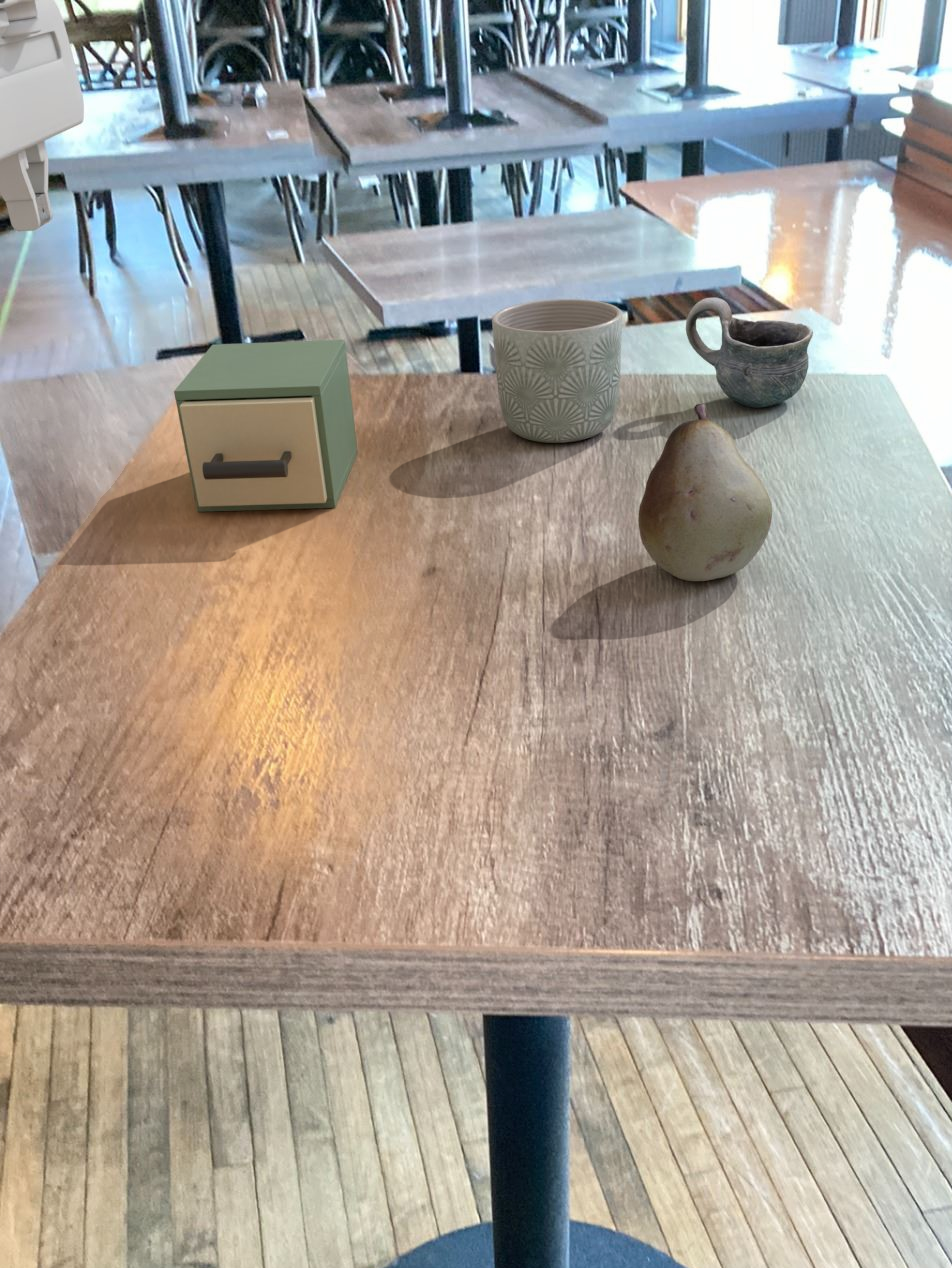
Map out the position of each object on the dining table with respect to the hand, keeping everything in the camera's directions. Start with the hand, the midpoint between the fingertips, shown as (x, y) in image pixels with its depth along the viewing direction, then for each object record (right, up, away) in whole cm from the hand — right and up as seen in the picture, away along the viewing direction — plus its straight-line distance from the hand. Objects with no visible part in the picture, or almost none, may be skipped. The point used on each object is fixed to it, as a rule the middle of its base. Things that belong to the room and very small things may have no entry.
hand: (34, 226), depth 86 cm
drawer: (+9, -6, +34) cm, 36 cm away
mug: (+55, +7, +50) cm, 75 cm away
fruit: (+46, -18, +17) cm, 53 cm away
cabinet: (+10, -5, +38) cm, 40 cm away
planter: (+36, +3, +46) cm, 59 cm away
